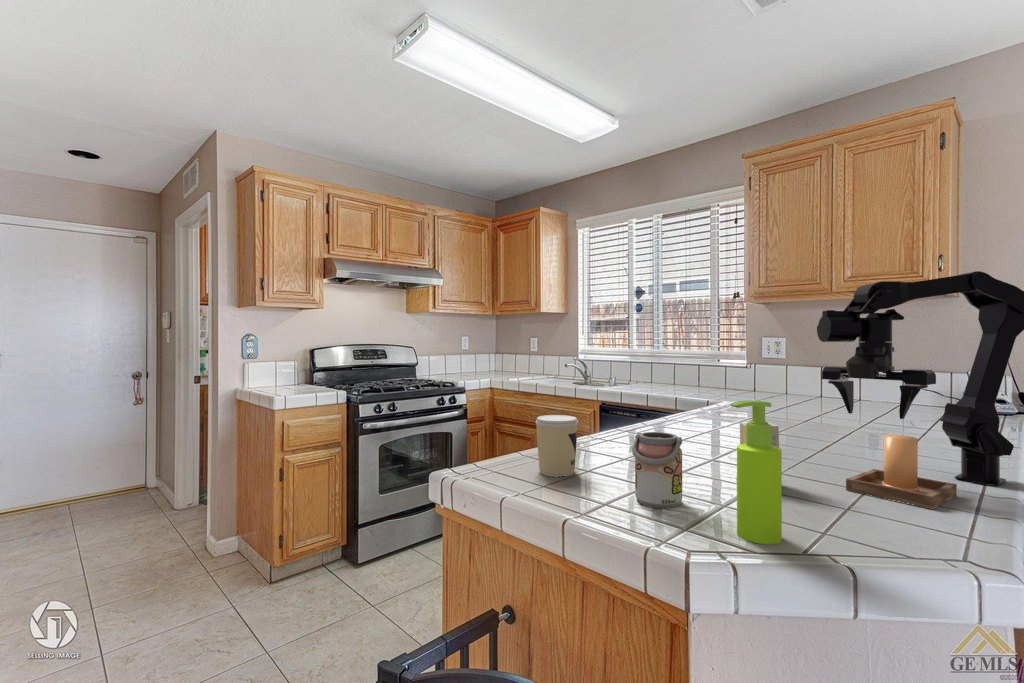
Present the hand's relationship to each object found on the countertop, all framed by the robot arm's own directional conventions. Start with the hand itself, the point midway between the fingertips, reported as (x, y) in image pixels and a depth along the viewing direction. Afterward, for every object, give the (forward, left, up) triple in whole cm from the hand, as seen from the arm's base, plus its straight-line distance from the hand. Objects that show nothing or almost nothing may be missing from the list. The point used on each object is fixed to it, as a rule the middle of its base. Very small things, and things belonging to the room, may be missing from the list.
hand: (875, 416), depth 102 cm
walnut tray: (+8, +7, -13) cm, 17 cm away
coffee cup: (+53, -41, -13) cm, 68 cm away
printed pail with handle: (+51, -15, -13) cm, 55 cm away
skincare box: (+25, -11, -13) cm, 30 cm away
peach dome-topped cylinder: (+8, +7, -12) cm, 17 cm away
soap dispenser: (+51, +3, -13) cm, 53 cm away
